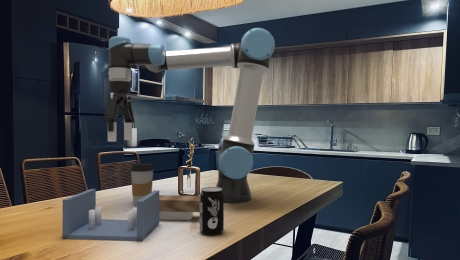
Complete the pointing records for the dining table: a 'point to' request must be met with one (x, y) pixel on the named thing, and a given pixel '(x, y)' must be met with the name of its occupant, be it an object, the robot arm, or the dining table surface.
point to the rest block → (175, 215)
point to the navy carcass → (93, 227)
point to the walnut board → (179, 203)
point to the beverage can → (211, 211)
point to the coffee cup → (141, 180)
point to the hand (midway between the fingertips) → (120, 140)
